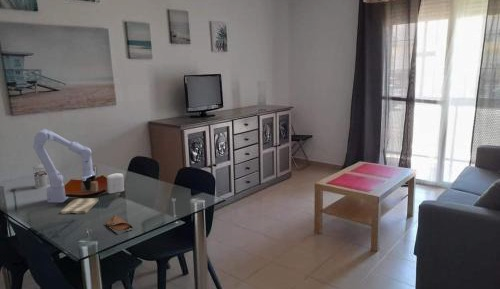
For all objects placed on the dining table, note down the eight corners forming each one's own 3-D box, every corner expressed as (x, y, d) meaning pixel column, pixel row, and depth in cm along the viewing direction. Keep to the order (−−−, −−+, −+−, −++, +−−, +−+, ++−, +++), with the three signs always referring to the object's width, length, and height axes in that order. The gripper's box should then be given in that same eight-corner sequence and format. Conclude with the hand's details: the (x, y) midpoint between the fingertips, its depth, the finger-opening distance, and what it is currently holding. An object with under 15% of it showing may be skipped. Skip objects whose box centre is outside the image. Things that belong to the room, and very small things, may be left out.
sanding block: (81, 192, 234) (80, 183, 232) (83, 190, 238) (83, 181, 236) (96, 192, 234) (95, 183, 232) (98, 190, 238) (97, 181, 236)
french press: (39, 189, 249) (34, 153, 243) (29, 186, 255) (24, 150, 249) (53, 185, 257) (48, 149, 251) (43, 182, 263) (38, 147, 257)
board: (60, 213, 212) (60, 211, 212) (75, 200, 231) (74, 198, 230) (85, 213, 212) (85, 210, 212) (98, 200, 231) (98, 198, 230)
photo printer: (123, 189, 250) (121, 171, 247) (125, 191, 247) (123, 173, 244) (107, 192, 245) (105, 174, 242) (108, 194, 241) (107, 175, 238)
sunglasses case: (101, 223, 199) (106, 211, 200) (113, 226, 204) (118, 214, 205) (117, 235, 187) (123, 222, 187) (129, 238, 191) (134, 225, 192)
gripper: (89, 170, 225) (91, 192, 228) (98, 164, 239) (100, 184, 242) (77, 170, 225) (79, 192, 228) (87, 164, 239) (89, 184, 242)
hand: (89, 188), depth 235 cm, fingers closed on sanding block, 4 cm apart
